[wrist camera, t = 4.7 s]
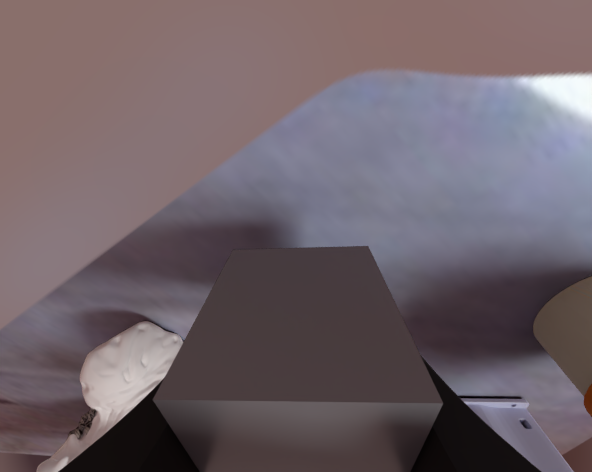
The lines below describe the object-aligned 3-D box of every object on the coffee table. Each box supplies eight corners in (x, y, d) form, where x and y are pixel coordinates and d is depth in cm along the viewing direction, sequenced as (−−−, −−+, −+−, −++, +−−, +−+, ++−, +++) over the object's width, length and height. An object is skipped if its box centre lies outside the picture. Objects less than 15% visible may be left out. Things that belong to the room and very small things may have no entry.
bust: (140, 293, 22) (-26, 410, 15) (164, 317, 16) (-76, 512, 10) (206, 365, 27) (103, 476, 20) (241, 401, 22) (116, 567, 15)
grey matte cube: (367, 246, 11) (443, 403, 5) (357, 337, 14) (395, 501, 8) (233, 249, 11) (152, 399, 5) (252, 338, 14) (215, 494, 8)
